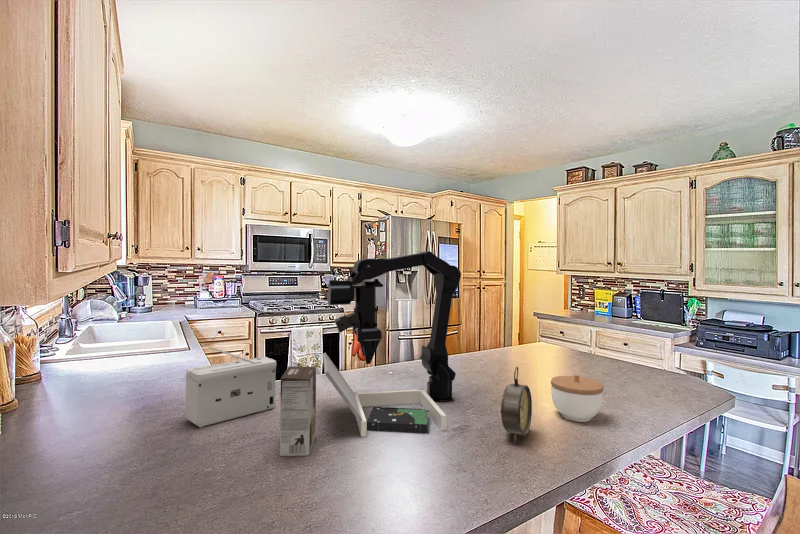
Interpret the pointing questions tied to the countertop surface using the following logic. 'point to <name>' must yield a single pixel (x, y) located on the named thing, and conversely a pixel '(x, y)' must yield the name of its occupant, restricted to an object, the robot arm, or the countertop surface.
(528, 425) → the alarm clock
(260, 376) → the stereo radio cassette player
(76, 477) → the countertop surface
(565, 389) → the lidded bowl
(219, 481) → the countertop surface
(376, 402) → the beige bent panel frame
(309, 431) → the coffee box
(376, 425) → the disk drive
